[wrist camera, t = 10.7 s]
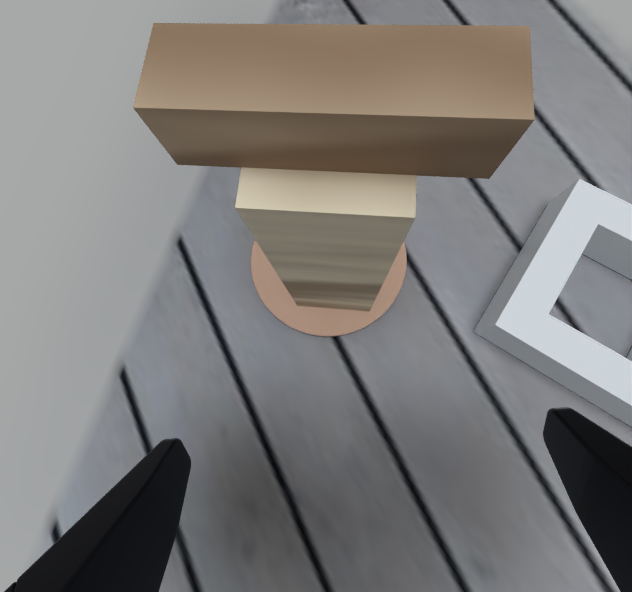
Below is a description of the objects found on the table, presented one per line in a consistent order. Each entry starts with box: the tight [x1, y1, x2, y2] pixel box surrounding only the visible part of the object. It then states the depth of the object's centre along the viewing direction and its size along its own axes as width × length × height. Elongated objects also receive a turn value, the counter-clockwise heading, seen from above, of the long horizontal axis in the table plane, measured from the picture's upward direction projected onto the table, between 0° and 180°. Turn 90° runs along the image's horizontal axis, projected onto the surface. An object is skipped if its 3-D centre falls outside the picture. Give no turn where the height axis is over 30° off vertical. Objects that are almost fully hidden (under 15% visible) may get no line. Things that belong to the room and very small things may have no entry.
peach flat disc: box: [251, 240, 407, 337], centre depth 22 cm, size 10×10×1 cm
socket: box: [473, 179, 632, 427], centre depth 19 cm, size 10×10×3 cm
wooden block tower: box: [133, 23, 534, 312], centre depth 14 cm, size 4×8×15 cm, turn 85°
